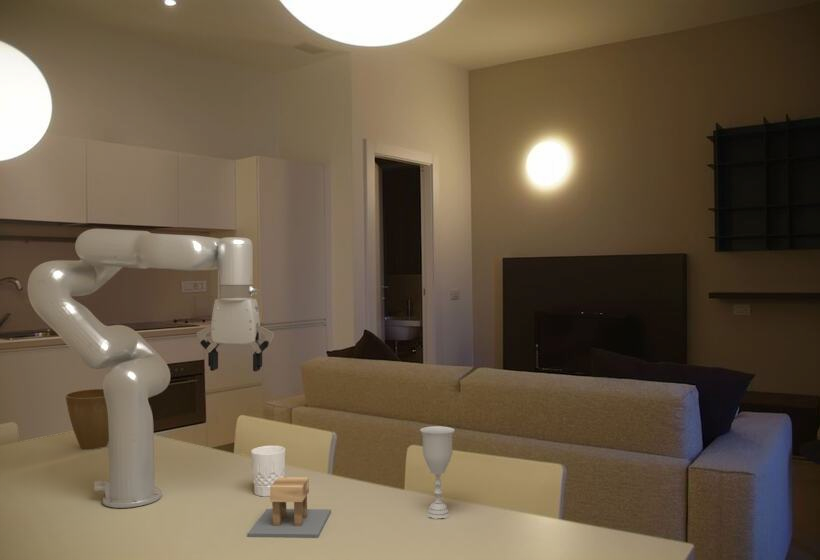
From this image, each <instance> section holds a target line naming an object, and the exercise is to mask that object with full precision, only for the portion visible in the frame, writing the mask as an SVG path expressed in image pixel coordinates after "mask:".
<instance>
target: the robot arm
mask: <svg viewBox="0 0 820 560" xmlns="http://www.w3.org/2000/svg"><path fill="white" fill-rule="evenodd" d="M74 247H75V248H74V249H75V252H76V255H77V256H78V258H79V260H70V259H69V260H68V259H67V260H66V259H65V260H64V259H63V260H62V259H61V260H57V259H56V260H49V261H45V262H42V263H40V264H39V265H37V266H36V267H34V268H33V269H32V271H31V272H30V274H29V277H28V281H27V295H28V299H29V302H30V304H31V306H32V309H33V310H34V312H35V313H36V314H37V315H38V316H39V317H40V318H41V320H43V322H45V323H46V325H48V326H49V328H51V329H52V330H53V331H54V332H55V333H56V334H57V336H59V338H60V339H61V340H62V341H63V342H64V344H66V345H67V346H68V347H69V348H70V350H71V351H72V352H73V353H74V354H75V355H76V356H77V357H78V358H79V359H80V360H81V361H82V363H84V364H85V365H86V367H89V368H91V369H95V370H101V369H106V368H110V367H111V368H110V369H109V370H108V372H107V373H106V374H105V376H104V379H103V384H102V386H103V387H102V389H103V390H104V396H105V400H106V405H107V412H108V430H109V442H108V460H109V461H108V463H109V464H108V465H109V467H108V468H109V469H108V470H109V479H108V480H99V479H97V480H95V481H94V484H93V487H94V488H93V490H94V492H104V493H105V494H104V495H103V497H102V504H103V505H104V506H106V507H109V508H115V509H123V508H124V509H125V508H129V509H130V508H135V507H140V506H141V507H142V506H146V505H149V504H152V503H154V502H156V501H158V500H160V499H161V498H162V497H163V491H162V489H161V488H160V487H158V486H155V485H156V484H155V483H156V481H155V442H154V441H155V433H154V418H153V411H152V407H151V405H150V403H149V399H150V398H152V397H154V396H157V395H159V394H161V393H163V392H164V391H165V390H166V389H167V388H168V386H169V384H170V382H171V371H170V368H169V366H168V363H167V362H166V361H165V360H164V359H163V358H162V356H161V355H160V354H159V353H158V352H157V351H156V350H155V349H154V348H153V346H152V345H150V343H148V342H147V341H146V339H144V338H143V336H141V335H140V333H138V332H137V331H136V330H134V328H131V327H130V326H127V325H122V324H114V325H106V324H104V323H102V322H101V321H100V320H99V318H97V317H96V316H95V315H94V314H93V313H92V312H91V310H89V309H88V308H87V307H86V306H85V305H84V304H81V303H80V302H79V301H77V300H76V299H74V298H73V297H81V296H87V295H91V294H93V293H95V292H96V291H98V290H99V289H100V288H102V286H103V285H105V284H106V283H107V282H108V281H109V280H110V279H112V278H113V277H114V276H115V275H116V274H117V273H118V272H119V271H121V270H122V269H123V268H131V269H144V270H145V269H146V270H147V269H163V270H165V269H166V270H177V271H213V270H217V299H216V298H215V299H214V302H213V308H212V315H211V323H210V325H209V326H207V327H205V328H203V329H201V330H199V331H197V332H196V337H197V339H198V341H199V342H200V345H201V346H202V347H203V348H204V349H205V351H206V353H208V358H207V362H208V364H207V365H208V367H209V370H210V371H211V372H213V371H216V370H217V369H219V352H218V351H217V349H218V348H219V346H220V345H242V346H243V345H244V346H245V345H249V346H250V347H251V348H252V350H253V351H254V352H253V353H252V371H253V372H259V371H260V370H261V367H263V353H264V351H265V350H266V349H267V348H268V347H269V346H270V345H271V342H272V341H273V339H274V337H275V332H273V331H272V330H269V329H267V328H265V327H263V326H262V325H261V320H260V311H259V305H258V300H257V299H255V298H253V297H254V296H255V295H259V293H260V288H257V287H255V285H254V281H253V278H254V277H253V276H254V275H253V274H254V271H253V269H254V268H253V265H254V262H253V258H254V256H253V255H254V251H253V249H254V248H253V247H254V246H253V242H252V240H251V239H250V238H247V237H237V236H233V237H231V236H230V237H229V236H228V237H221V238H217V237H213V236H212V237H211V236H203V235H202V236H201V235H191V234H190V235H189V234H188V235H187V234H186V235H185V234H168V233H153V232H150V231H147V230H135V229H134V230H132V229H114V228H113V229H111V228H91V229H87V230H85V231H83V232H81V234H79V235H78V236H77V239H76V240H75V243H74ZM209 333H210V341H211V342H210V341H209V340H208V339H207V337H206V335H207V334H209ZM261 334H262V335H264V336H265V338H264V341H263V342H260V340H261Z"/></svg>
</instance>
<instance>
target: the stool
mask: <svg viewBox="0 0 820 560" xmlns="http://www.w3.org/2000/svg"><path fill="white" fill-rule="evenodd" d="M309 483H310V478H309V477H307V476H306V477H305V476H304V477H303V476H302V477H301V476H300V477H299V476H297V477H296V476H293V477H292V476H291V477H288V476H287V477H285V476H284V477H278V478H277V479H276V480H275V482H274V483H273V484H272V485H271V486H270V496H269V501H270V503H272V504H271V506H272V508H271V509H273V526H280V525H281V518H285V517H286V509H287V503H293V509H294V526H302V524H303V518H306V517H307V509H308V494H309V492H310V484H309Z"/></svg>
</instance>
